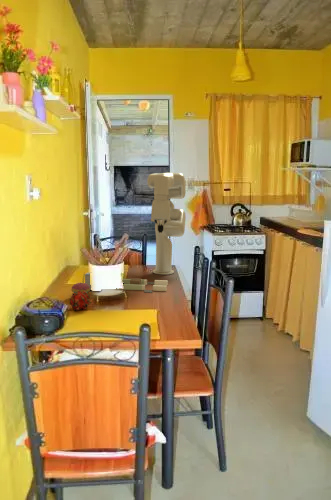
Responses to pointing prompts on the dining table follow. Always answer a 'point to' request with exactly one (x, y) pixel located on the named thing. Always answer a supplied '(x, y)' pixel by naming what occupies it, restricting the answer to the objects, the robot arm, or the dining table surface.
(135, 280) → the walnut block
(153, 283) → the pads
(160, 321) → the dining table surface
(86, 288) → the cupcake
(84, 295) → the dragon fruit
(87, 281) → the medicine box
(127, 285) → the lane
